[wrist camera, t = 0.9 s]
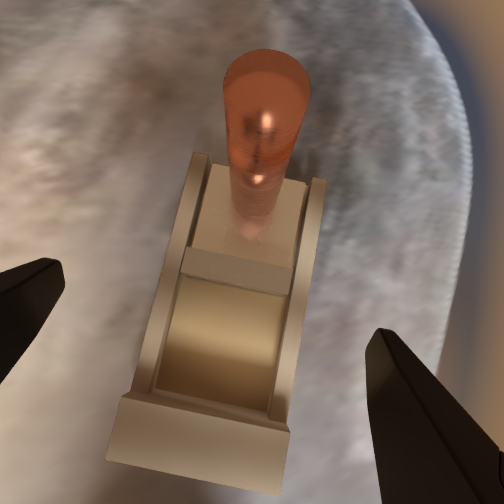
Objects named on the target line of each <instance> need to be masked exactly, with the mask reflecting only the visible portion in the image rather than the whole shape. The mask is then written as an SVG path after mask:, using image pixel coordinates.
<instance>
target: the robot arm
mask: <svg viewBox="0 0 504 504" xmlns="http://www.w3.org/2000/svg"><path fill="white" fill-rule="evenodd" d="M64 288H65V279H64V274H63V269H62V264H61V262H60V261H59V260H56V259H51V258H40V259H38V260H35V261H32V262H29V263H26V264H23V265H21V266H18V267H15V268H12V269H9V270H6V271H4V272H1V273H0V384H1V383H2V381H3V380H4V379H5V377H6V376H7V375H8V373H9V372H10V371H11V369H12V368H13V367H14V365H15V364H16V363H17V361H18V360H19V359H20V357H21V356H22V355H23V353H24V352H25V351H26V349H27V348H28V347H29V345H30V344H31V343H32V341H33V340H34V338H35V337H36V336H37V334H38V332H39V331H40V329H41V328H42V326H43V324H44V323H45V321H46V319H47V318H48V316H49V314H50V313H51V311H52V309H53V308H54V306H55V304H56V302H57V301H58V299H59V297H60V296H61V294H62V292H63V290H64ZM365 363H366V388H367V407H368V415H369V421H370V428H371V434H372V441H373V447H374V454H375V460H376V467H377V473H378V480H379V486H380V493H381V499H382V504H504V452H502V451H500V450H499V447H498V446H497V445H496V444H495V443H494V441H492V439H491V438H490V437H489V436H488V435H487V434H486V433H485V432H484V430H483V429H482V428H481V427H480V426H479V425H478V424H477V423H476V422H475V421H474V419H473V418H472V417H471V416H470V415H469V414H468V413H467V412H466V410H465V409H464V408H463V407H462V406H461V405H460V404H459V403H458V402H457V400H456V399H454V397H453V396H452V395H451V394H450V393H449V392H448V391H447V389H446V388H445V387H444V386H443V385H442V384H441V383H440V382H439V381H438V379H437V378H436V377H435V376H434V375H433V374H432V373H431V372H430V371H429V369H428V368H427V367H426V366H425V365H424V364H423V363H422V362H421V361H420V359H419V358H418V357H417V356H416V355H415V354H414V353H413V352H412V351H411V349H410V348H409V347H408V346H407V345H406V344H405V343H404V342H403V341H402V340H401V338H400V337H399V336H398V335H397V334H396V333H395V332H394V331H392V330H389V329H384V328H378V329H377V330H376V331H375V332H374V334H373V336H372V338H371V340H370V341H369V343H368V345H367V347H366V351H365Z"/></svg>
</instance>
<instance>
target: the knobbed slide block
mask: <svg viewBox="0 0 504 504" xmlns="http://www.w3.org/2000/svg"><path fill="white" fill-rule="evenodd" d="M223 91H224V105H225V119H226V132H227V146H228V160H229V167H228V166H223V165H219V164H214V163H212V167H211V172H210V176H209V180H208V184H207V188H206V192H205V196H204V200H203V204H202V208H201V212H200V216H199V220H198V224H197V228H196V232H195V236H194V240H193V244H192V247H188V246H187V247H186V251H185V255H184V259H183V263H182V267H181V271H180V272H181V273H183V274H184V275H185V276H187V277H188V278H193V279H198V280H202V281H207V282H212V283H217V284H222V285H226V286H231V287H236V288H241V289H245V290H250V291H255V292H260V293H264V294H269V295H274V296H279V297H284V296H286V295H288V293H289V288H290V282H291V277H292V271H293V268H290V264H291V259H292V254H293V248H294V243H295V237H296V232H297V227H298V221H299V216H300V210H301V205H302V199H303V194H304V189H305V182H300V181H295V180H291V179H286V178H284V177H285V174H286V170H287V167H288V164H289V161H290V158H291V155H292V152H293V149H294V145H295V142H296V139H297V136H298V133H299V130H300V127H301V124H302V120H303V117H304V114H305V111H306V108H307V105H308V102H309V98H310V92H311V86H310V81H309V78H308V75H307V73H306V71H305V70H304V68H303V67H302V66H301V64H300V63H299V62H298V61H296V60H295V59H294V58H292V57H291V56H289V55H287V54H285V53H283V52H280V51H276V50H270V49H262V50H255V51H251V52H248V53H246V54H244V55H242V56H240V57H239V58H238V59H236V60H235V61H234V62H233V63H232V64H231V66H230V67H229V68H228V70H227V72H226V75H225V78H224V83H223Z"/></svg>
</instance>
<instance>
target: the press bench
mask: <svg viewBox="0 0 504 504" xmlns="http://www.w3.org/2000/svg"><path fill="white" fill-rule="evenodd" d="M211 167H212V166H210V161H209V156H208V155H205V154H201V153H196V152H193V155H192V159H191V163H190V167H189V171H188V174H187V178H186V182H185V186H184V190H183V193H182V197H181V201H180V205H179V208H178V212H177V216H176V220H175V224H174V227H173V231H172V235H171V239H170V243H169V246H168V250H167V254H166V258H165V262H164V265H163V269H162V273H161V277H160V281H159V284H158V288H157V292H156V296H155V300H154V303H153V307H152V311H151V315H150V319H149V322H148V326H147V330H146V334H145V337H144V341H143V345H142V349H141V353H140V356H139V360H138V364H137V368H136V372H135V375H134V379H133V383H132V387H131V391H129V392H128V393H126V394H125V395H123V396H122V397H121V399H120V403H119V406H118V410H117V414H116V418H115V421H114V425H113V429H112V432H111V436H110V440H109V444H108V447H107V451H106V455H105V459H104V460H109V461H114V462H118V463H123V464H128V465H132V466H137V467H142V468H146V469H151V470H156V471H161V472H165V473H170V474H175V475H179V476H184V477H189V478H193V479H198V480H203V481H208V482H212V483H217V484H222V485H226V486H231V487H236V488H241V489H245V490H250V491H255V492H259V493H264V494H269V495H273V496H278V497H280V492H281V486H282V480H283V474H284V468H285V462H286V456H287V450H288V444H289V438H290V431H289V428H288V426H287V424H286V423H287V417H288V411H289V405H290V399H291V393H292V387H293V382H294V376H295V370H296V364H297V358H298V352H299V346H300V341H301V335H302V329H303V323H304V317H305V311H306V305H307V299H308V294H309V288H310V282H311V276H312V270H313V264H314V258H315V252H316V247H317V241H318V235H319V229H320V223H321V217H322V211H323V205H324V200H325V194H326V188H327V182H328V180H326V179H321V178H316V177H313V178H312V180H311V181H310V183H309V185H308V186H306V185H305V189H304V194H303V199H302V205H301V210H300V216H299V221H298V227H297V232H296V237H295V243H294V248H293V254H292V259H291V264H290V268H293V271H292V277H291V282H290V288H289V293H288V295H286V296H284V297H279V296H274V295H269V294H264V293H260V292H255V291H250V290H245V289H241V288H236V287H231V286H226V285H222V284H217V283H212V282H207V281H202V280H198V279H193V278H188V277H187V276H185V275H184V274H183V273H181V272H180V271H181V267H182V263H183V259H184V255H185V251H186V247H187V246H188V247H192V244H193V240H194V236H195V232H196V228H197V224H198V220H199V216H200V212H201V208H202V204H203V200H204V196H205V192H206V188H207V184H208V180H209V176H210V172H211Z"/></svg>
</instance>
